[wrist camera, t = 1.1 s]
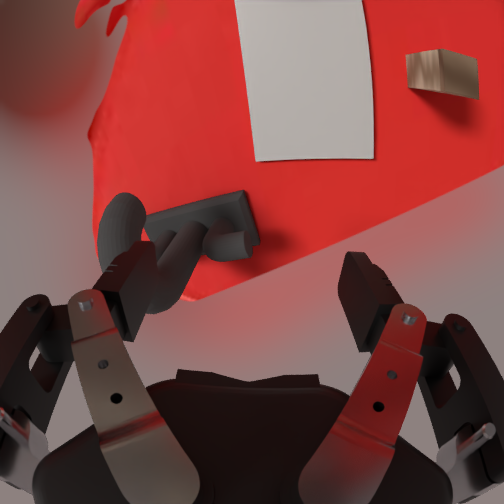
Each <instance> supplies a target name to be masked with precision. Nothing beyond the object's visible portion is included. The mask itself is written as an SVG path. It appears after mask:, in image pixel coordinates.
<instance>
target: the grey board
mask: <svg viewBox="0 0 504 504" xmlns="http://www.w3.org/2000/svg"><path fill="white" fill-rule="evenodd" d="M235 7H236V14H237V21H238V28H239V35H240V42H241V49H242V57H243V64H244V72H245V79H246V87H247V95H248V102H249V110H250V118H251V126H252V134H253V143H254V151H255V159H256V161H271V160H291V159H328V158H354V159H374V117H373V92H372V77H371V65H370V55H369V46H368V38H367V30H366V23H365V17H364V11H363V6H362V0H235Z"/></svg>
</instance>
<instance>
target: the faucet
mask: <svg viewBox="0 0 504 504" xmlns="http://www.w3.org/2000/svg"><path fill="white" fill-rule="evenodd" d="M143 227H144V229H145V231H146V233H147V235H148V237H149V239H150V241H153V242H154V245H155V251H156V259H157V266H158V274H159V280H158V286H157V289H156V291H155V293H154V295H153V298H152V300H151V302H150V304H149V307H148V309H147V311H146V313H147V314H157V313H159V312H163V311H165V310H168V309H169V308H170V307H172V305H174V304H175V303H176V302H177V301H178V300H179V298H180V296H181V295H182V293H183V291H184V289H185V287H186V285H187V283H188V281H189V279H190V277H191V275H192V272H193V270H194V268H195V266H196V264H197V262H198V260H199V258H200V256H201V255H205V254H206V255H207V257H209V258H210V259H212V260H214V261H219V262H225V261H232V260H238V259H245V258H251V257H252V254H253V247H252V246H256V245H260V238H259V235H258V232H257V229H256V226H255V223H254V220H253V217H252V213H251V210H250V207H249V204H248V201H247V198H246V195H245V192H244V190H240V191H236V192H232V193H228V194H224V195H219V196H215V197H211V198H208V199H204V200H200V201H196V202H192V203H188V204H185V205H181V206H177V207H174V208H170V209H167V210H163V211H160V212H156V213H153V214H149V215H146V211H145V208H144V206H143V204H142V202H141V201H140V200H139V199H138V198H137V197H136V196H134V195H132V194H130V193H119V194H118V195H116V196H115V197H114V198H113V199H112V201H111V202H110V203H109V204H108V206H107V207H106V209H105V211H104V213H103V216H102V218H101V221H100V224H99V230H98V239H97V247H98V257H99V262H100V266H101V269H102V272H103V273H104V272H105V270H106V269H107V267H108V266H110V263H111V262H112V261H113V259H114V258H115V257H116V256H118V255H119V254H121V253H122V252H124V251H125V252H127V251H128V250H129V249H130V247H131V246H132V245H133V243H134V242H135V241H141V234H142V229H143Z"/></svg>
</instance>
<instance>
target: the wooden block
mask: <svg viewBox="0 0 504 504" xmlns="http://www.w3.org/2000/svg"><path fill="white" fill-rule="evenodd" d="M406 65H407V79H408V87H409V88H416V89H422V90H428V91H434V92H440V93H446V94H452V95H458V96H463V97H468V98H473V99H477V100H479V81H478V65H477V59H475V58H472V57H469V56H466V55H462V54H459V53H456V52H452V51H449V50H445V49H437V50H431V51H424V52H419V53H413V54H408V55H406Z"/></svg>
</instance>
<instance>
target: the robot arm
mask: <svg viewBox="0 0 504 504" xmlns="http://www.w3.org/2000/svg"><path fill="white" fill-rule="evenodd" d="M158 280H159V274H158V266H157V259H156V251H155V245H154V242H153V241H135V242H134V243H133V245H132V246H131V247H130V249H129V250H128V251H127V252H125V251H124V252H122V253H121V254H119V255H118V256H116V257H115V258H114V259H113V261H112V262H111V263H110V266H108V267H107V269H106V270H105V272H104V273H103V274H102V276H101V277H100V278H99V280H98V281H97V282H96V284H95V285H94V286H93V288H92V289H86V290H82V291H80V292H78V293H76V294H74V295H73V296H72V297H71V298H70V300H69V301H68V304H66V305H57V306H52V305H51V303H50V301H49V298H48V297H47V296H46V295H42V294H37V295H33V296H31V297H29V298H27V299H26V300H24V301H23V302H22V304H21V305H20V306H19V308H18V309H17V310H16V312H15V313H14V315H13V316H12V317H11V319H10V320H9V321H8V323H7V324H6V326H5V327H4V329H3V330H2V332H1V333H0V480H1V481H4V482H6V483H7V484H9V485H11V486H13V487H15V488H17V489H22V490H24V491H26V492H28V493H30V494H32V495H33V497H34V501H35V504H456V503H460V504H461V503H466V502H468V501H470V500H472V499H474V498H476V497H478V496H480V495H481V494H484V493H486V492H487V491H489V490H491V489H493V488H495V487H496V486H498V485H500V484H501V483H503V482H504V380H503V378H502V376H501V374H500V372H499V371H498V368H497V367H496V365H495V363H494V361H493V360H492V358H491V356H490V354H489V353H488V351H487V349H486V347H485V346H484V344H483V342H482V341H481V339H480V337H479V336H478V334H477V333H476V331H475V329H474V328H473V326H472V325H471V323H470V322H469V321H468V320H467V319H465V318H464V317H462V316H460V315H458V314H448V315H447V316H446V317H445V319H444V321H443V323H442V324H440V323H435V322H429V321H427V319H426V316H425V315H424V313H423V312H422V311H421V310H419V309H418V308H417V307H415V306H413V305H410V304H405V303H404V302H403V300H402V299H401V297H400V295H399V294H398V292H397V291H396V289H395V288H394V286H392V283H391V281H390V280H388V277H387V275H386V274H385V272H384V271H383V270H382V269H381V268H379V267H378V266H377V265H375V264H372V262H371V261H370V259H369V258H368V256H367V255H366V254H365V253H364V252H347V253H346V255H345V258H344V263H343V267H342V271H341V275H340V279H339V282H338V296H339V299H340V301H341V304H342V307H343V309H344V312H345V314H346V317H347V320H348V322H349V325H350V328H351V331H352V333H353V336H354V339H355V342H356V344H357V348H358V350H359V352H370V353H371V357H370V358H369V360H368V362H367V364H366V366H365V368H364V370H363V372H362V374H361V376H360V378H359V380H358V381H357V384H356V385H355V387H354V389H353V390H352V392H351V394H350V396H349V395H347V394H346V393H344V392H342V391H340V390H338V389H335V388H333V387H329V386H326V385H321V384H320V382H319V378H318V374H312V375H282V376H278V377H272V378H267V379H262V380H257V381H251V382H246V381H242V380H238V379H234V378H230V377H227V376H223V375H219V374H216V373H213V372H202V371H191V370H182V369H178V370H177V374H176V379H170V380H165V381H161V382H158V383H155V384H152V385H150V386H148V387H146V388H145V386H144V385H143V383H142V381H141V379H140V377H139V375H138V373H137V371H136V369H135V367H134V365H133V363H132V361H131V358H130V356H129V354H128V352H127V350H126V347H125V345H124V343H123V341H130V342H134V340H135V337H136V335H137V332H138V330H139V327H140V325H141V323H142V321H143V318H144V316H145V314H146V311H147V309H148V307H149V304H150V302H151V300H152V298H153V295H154V293H155V291H156V289H157V286H158ZM36 346H37V348H38V349H39V351H40V354H39V356H38V358H37V360H36V361H35V363H34V365H33V367H32V369H31V371H30V369H29V359H30V357H31V355H32V353H33V351H34V350H35V347H36ZM73 361H75V364H76V368H77V372H78V376H79V379H80V383H81V386H82V389H83V393H84V396H85V399H86V402H87V405H88V408H89V411H90V414H91V417H92V420H93V422H94V424H93V425H91V426H90V427H88V428H87V429H85V430H84V431H82V432H81V433H79V434H78V435H76V436H75V437H74V438H72V439H70V440H69V441H67V442H66V443H64V444H63V445H61V446H60V447H58V448H57V449H55V450H54V451H52V452H49V450H48V441H47V438H46V436H45V433H46V430H47V427H48V424H49V421H50V418H51V415H52V413H53V410H54V407H55V404H56V402H57V399H58V396H59V394H60V391H61V389H62V386H63V384H64V381H65V379H66V376H67V374H68V372H69V370H70V367H71V365H72V363H73ZM453 364H454V365H455V367H456V368H457V371H458V373H459V375H460V379H461V382H460V387H459V389H458V390H457V389H456V387H455V384H454V382H453V380H452V377H451V375H450V373H449V370H450V369H451V367H452V366H453ZM417 382H418V384H419V387H420V390H421V392H422V395H423V398H424V401H425V404H426V407H427V410H428V413H429V416H430V419H431V423H432V426H433V429H434V433H435V436H436V440H437V443H438V447H439V451H438V454H437V462H436V463H435V462H433V461H432V460H431V459H429V458H428V457H427V456H425V455H424V454H423V453H421V452H420V451H419V450H417V449H416V448H415V447H413V446H412V445H411V444H410V443H408V442H407V441H406V440H404V439H403V438H402V437H401V436H399V435H398V434H399V432H400V429H401V427H402V424H403V421H404V419H405V416H406V413H407V411H408V408H409V405H410V402H411V399H412V396H413V392H414V389H415V386H416V383H417Z"/></svg>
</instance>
